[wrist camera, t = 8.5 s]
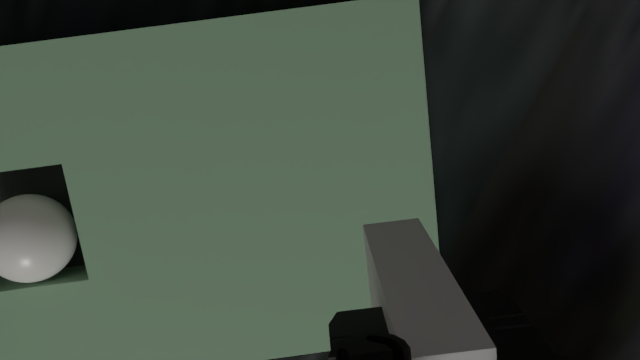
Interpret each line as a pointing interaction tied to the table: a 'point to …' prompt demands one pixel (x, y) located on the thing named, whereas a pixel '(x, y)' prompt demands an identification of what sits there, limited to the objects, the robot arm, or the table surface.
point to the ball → (35, 238)
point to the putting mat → (214, 178)
